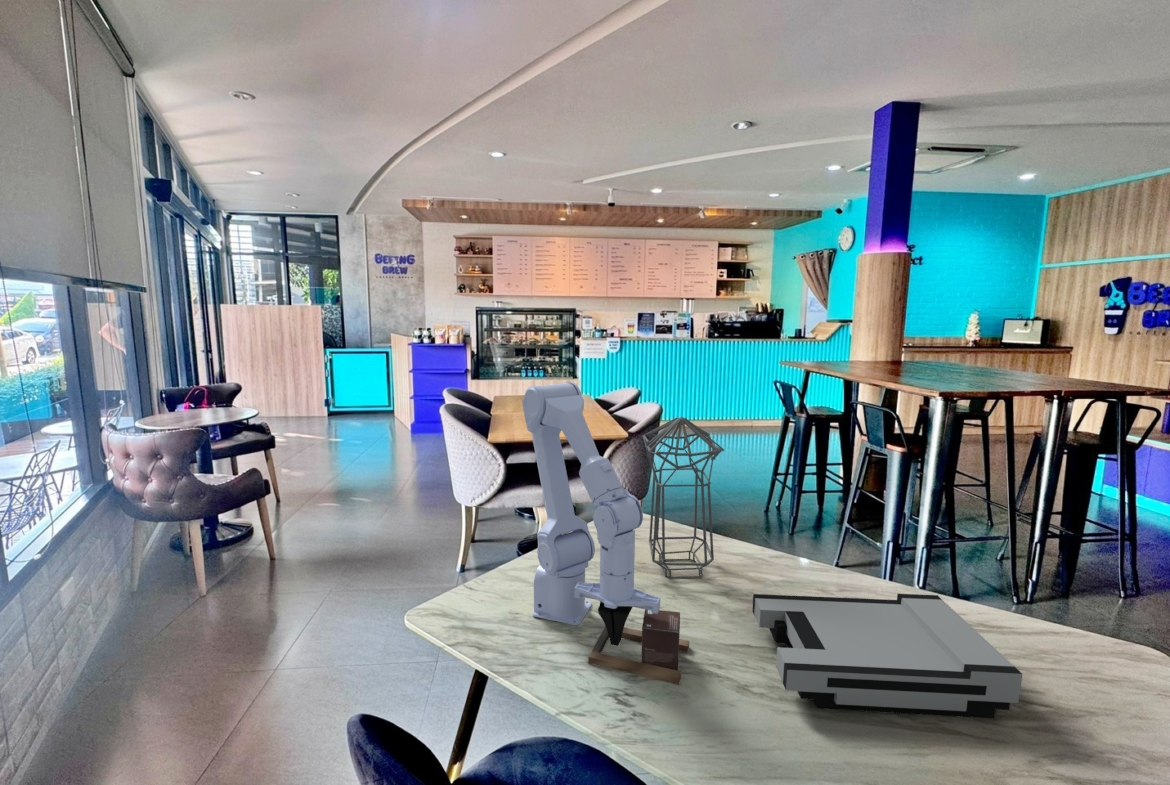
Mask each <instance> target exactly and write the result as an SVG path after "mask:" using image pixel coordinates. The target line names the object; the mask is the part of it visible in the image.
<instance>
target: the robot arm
mask: <svg viewBox="0 0 1170 785" xmlns="http://www.w3.org/2000/svg"><path fill="white" fill-rule="evenodd" d="M521 403H522V410H523V415H524V420H525V424H526V430H527V431H528V432H530V433H531V438H532V444H533V447H534V453H535V458H536V463H537V469H538V475H539V480H540V481H539V482H540V485H541V490H542V496H543V502H544V507H545V512H546V517H547V521H546V522H545V523H544V524H543V525H542V527H541V528H540V529H539V530H538V532H537V534H536V536H537V560H538V563H539V565H538V567H537V568H536V571H535V574H534V579H533V612H532V614H531V615H532V617H535V618H538V619H539V618H540V619H543V620H544V619H545V620H549V621H554V622H559V623H563V624H567V625H568V624H569V625H573V626H579V625H580V624H581V623H582V621H583V619H584V618H585V616H586V614H587V613H588V611H589V610H590V609H591V607H592V606H593V602H591V601H590V600H595V601H598V602H600V603H599V606H598V608H597V613H598V615H599V616H600V618H601V620H602V622H603V624H604V627H605V626H606V629H607V632H608V635H609V639H608V640H609V643H610V645H611V646H615V647H619V646H620V644H621V641H622V632H623V629H624V627H625V625H626V623H627V620H628V618H629V616H630V613H631V611H632V609H633V608H636V609H642V610H645V609H646V610H651V612H652V613H655V614H658V612H659V610H660V609H661V596H655V595H652V594H649V593H648V592H644V591H642V590H641V589H640V590H639V589H637V588H635V558H636V557H635V554H636V553H635V551H636V544H635V543H636V529H638V528H640V527H641V526H642V524H643V520H644V513H643V508H642V505H641V503H640V501H639V499H638V498H637V497H636V496H635V495H633V494H631V493H630V491H629V490H627V489H626V488H624V487H623V485H622V483H621V481H620V478H619V477H618V475H617V472H615V469H614V466H613V465H612V463H611V462H610V460H609V459H608V458H607V457H604V456H601V455H600V453H599V451H598V449H597V447H596V443H595V441H594V438H593V437H592V436H593V435H592V433H591V431H590V429H589V426H588V423H587V421H586V419H585V417H584V414H583V412H584V407H585V398H584V397H583V395H582V392H581V389H580V388H579V386H578V384H576V383H575V382H572V381H568V382H565V383H554V384H544V385H530V386H529V387H528V388H527V389H526V390H525V393H524V396H523V399H522V401H521ZM561 432H562V433H563V436H564V437H565V439H566V440H567V442H568V444H569V446H570V447H571V449H572V450H573V452H574V454H575V456H576V457H577V459H578V461H579V463H580V464H581V465H580V469H579V471H578V475H579V477H580V480H581V482H582V483H583V486H584V488H585V490H586V492H587V494H588V497H589V498H590V499H589V500H591V503H592V505H593V507H594V509H595V511H594V513H593V514H592V520H593V525H594V527H595V529H596V530H595V531H596V534H597V535H596V536H597V537H596V538H597V542H598V544H599V545H600V546H599V548H600V549H599V550H600V551H599V556H600V557H599V582H597V583H596V582H586V569H587V568H589V562H591V560H592V559H593V558H594V556H595V553H596V552H595V551H596V547H595V541H594V539H593V536H592V535H591V532H590V530H589V526H588V523H587V522H586V521H585V520H583V519H582V518H580V517H578V515H575V509H574V504H573V499H572V494H571V489H570V485H569V484H570V482H569V478H568V474H567V468H566V462H565V459H564V453H563V447H562V443H561V437H560V436H561ZM586 599H590V600H589V601H588V600H586Z"/></svg>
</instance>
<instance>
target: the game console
mask: <svg viewBox="0 0 1170 785" xmlns="http://www.w3.org/2000/svg"><path fill="white" fill-rule="evenodd" d="M752 596H753V597H752V614H753V616H754V618H755V620H756V623H757V625H758V627H759V628H763V629H769V631H770V634H771V635H772V638H773V641H774V643H775V644H776V645H786V647H777V648H776V660H775V662H776V663H775V668H776V670H777V673H778V676H779V677H780V680H781V683H782V684H783V687H784V690H785V691H787V692H788V691H789V692H797V694H798V696H799V699H801V700H812V701H813V703H814V705H815V706H816V709H818V710H832V711H833V710H836V711H837V710H838V711H853V712H871V713H885V712H886V713H885V714H887V713H888V714H889V713H890V714H905V715H907V714H908V715H920V714H921V715H922V716H938V715H939V717H940V716H941V717H956V716H960V718H977V719H991V718H993V719H995V713H996V710H997V711H998V710H1000V711H1002V710H1003V711H1010V707H1011V704H1012V703H1014V704H1019V700H1020V693H1021V688H1022V680H1023V672H1021V671H1020V670H1019V669H1018V668H1017V667H1016V666H1014V665H1013V663H1011V662H1010V661H1009V660H1008V659H1007V658H1006V657H1005V656H1004V655H1003V654H1002V653H1001V652H1000V651H999V650H997V649H996V648H995V647H994V646H993V645H992V644H991V643H990V642H989V641H988V640H987V639H985V638H984V636H982V635H981V634H980V633H979V632H978V631H977V630H976V629H974V627H972V626H971V624H969V623H968V622H967V620H965V619H964V618H963V617H961V615H959V614H958V613H957V612H956V611H955V609H953V608H952V607H951V606H950V605H949V604H948V603H946V602H945V601H944V600H943V599H942V597H940V596H939V595H935V594H915V593H897V596H896V599H883V598H882V599H881V598H860V597H859V598H858V597H838V596H836V597H835V596H834V597H833V596H831V597H830V596H811V595H809V596H807V595H786V594H784V595H783V594H766V593H765V594H764V593H763V594H761V593H760V594H759V593H758V594H757V593H753V595H752ZM921 715H920V716H921ZM961 716H962V717H961Z"/></svg>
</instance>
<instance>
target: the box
mask: <svg viewBox="0 0 1170 785" xmlns="http://www.w3.org/2000/svg"><path fill="white" fill-rule="evenodd" d="M642 619H643V620H642V626H641V631H642V643H641V654H640V655H641V657H640V658H641V661H640V662H642V663H646V664H651V665H655V666H659V667H664V668H668V669H673V670H677V671H679V662H680V661H679V658H680V657H679V656H680V651H679V639H680V631H681V628H680V627H681V612H680V611H679V612H678V611H670V610H662V609H661V610H660V609H659V612H658V614H655V613H652V612H651V610H646V609H644V614H643V618H642Z"/></svg>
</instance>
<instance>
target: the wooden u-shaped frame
mask: <svg viewBox="0 0 1170 785" xmlns="http://www.w3.org/2000/svg"><path fill="white" fill-rule="evenodd" d="M622 639H623V640H626V641H631V642H637V643H641V644H642V630H638V629H636V628H635V629H634V628H629V627H625V626H624V629H623V632H622V638H621V640H622ZM609 640H610V639H609V635H608V632H607V629H606V626H605V625H604V627H603V629H602V631H601V632H600V635H599V636H598V638H597V640H596V642H595V644H594V645H593V647H592V649H591V651H590V653H589V654H588V657H587V663H588V664H589V665H593V666H599V667H602V668H603V667H604V668H607V669H610V670H614V671H619V672H624V673H626V674H627V673H628V674H631V675H636V676H640V677H644V678H647V679H648V678H649V679H653V680H657V681H662V682H664V683H665V682H666V683H670V684H673V685H679V686H680V683H681V679H682V670H678V671H677V670H673V669H668V668H664V667H659V666H655V665H651V664H646V663H642V662H641V661H638V660H634V659H633V660H632V659H629V658H624V657H620V656H616V655H611V654H606V653H603V650H604V649H605V647H606V645H607V642H608V641H609ZM689 649H690V640H688V639H687V640H686V639H681V638H679V652H682V653H689Z"/></svg>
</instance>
